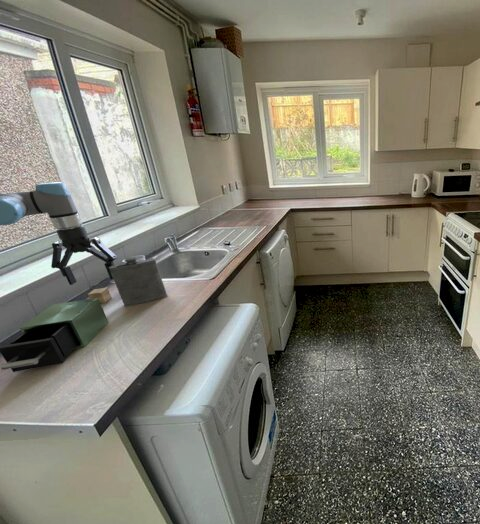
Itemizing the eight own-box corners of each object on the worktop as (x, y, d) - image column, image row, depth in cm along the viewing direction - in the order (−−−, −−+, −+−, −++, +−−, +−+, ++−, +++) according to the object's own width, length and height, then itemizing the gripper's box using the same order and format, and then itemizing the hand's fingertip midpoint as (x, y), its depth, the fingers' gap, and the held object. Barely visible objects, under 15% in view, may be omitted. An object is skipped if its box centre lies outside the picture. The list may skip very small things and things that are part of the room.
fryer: (84, 346, 86) (71, 320, 83) (35, 355, 84) (19, 327, 80) (108, 322, 99) (98, 297, 95) (66, 328, 96) (53, 304, 92)
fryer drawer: (51, 374, 75) (37, 350, 72) (-1, 384, 72) (-18, 359, 69) (89, 336, 90) (79, 315, 87) (47, 343, 87) (35, 321, 84)
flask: (166, 297, 113) (152, 255, 106) (123, 307, 107) (104, 263, 101) (167, 294, 116) (153, 252, 109) (125, 303, 111) (107, 260, 104)
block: (92, 304, 111) (87, 294, 110) (98, 299, 115) (94, 289, 114) (105, 302, 112) (101, 292, 110) (111, 297, 116) (107, 287, 114)
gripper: (114, 220, 108) (134, 271, 116) (36, 228, 103) (62, 281, 111) (103, 225, 101) (125, 279, 109) (19, 234, 96) (48, 290, 104)
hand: (93, 280), depth 110 cm, fingers open, 13 cm apart
